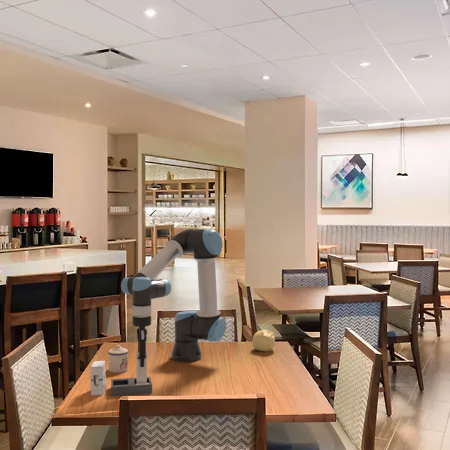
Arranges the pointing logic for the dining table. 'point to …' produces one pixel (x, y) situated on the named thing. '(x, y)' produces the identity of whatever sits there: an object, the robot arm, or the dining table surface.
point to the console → (130, 387)
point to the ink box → (98, 378)
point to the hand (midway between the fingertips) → (141, 372)
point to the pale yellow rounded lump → (263, 340)
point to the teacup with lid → (118, 359)
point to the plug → (138, 377)
